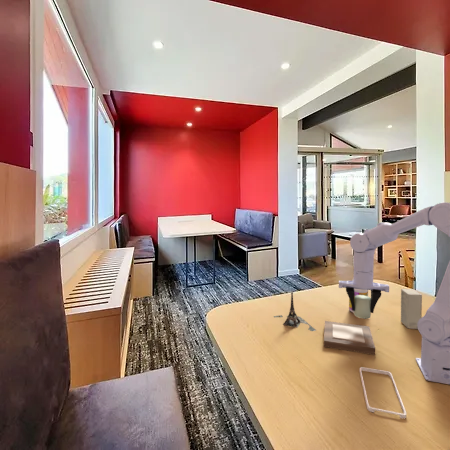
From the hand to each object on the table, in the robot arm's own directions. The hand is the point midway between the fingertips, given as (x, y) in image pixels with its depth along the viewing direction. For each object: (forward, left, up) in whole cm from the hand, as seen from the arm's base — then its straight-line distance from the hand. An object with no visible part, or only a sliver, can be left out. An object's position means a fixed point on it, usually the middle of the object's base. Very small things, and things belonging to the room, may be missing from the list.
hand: (362, 310), depth 90 cm
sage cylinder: (0, 0, -2) cm, 2 cm away
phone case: (-27, -2, -9) cm, 29 cm away
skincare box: (+13, -17, -9) cm, 23 cm away
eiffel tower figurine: (+2, +22, -9) cm, 24 cm away
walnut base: (-4, +4, -8) cm, 10 cm away
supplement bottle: (+20, -1, -9) cm, 22 cm away
